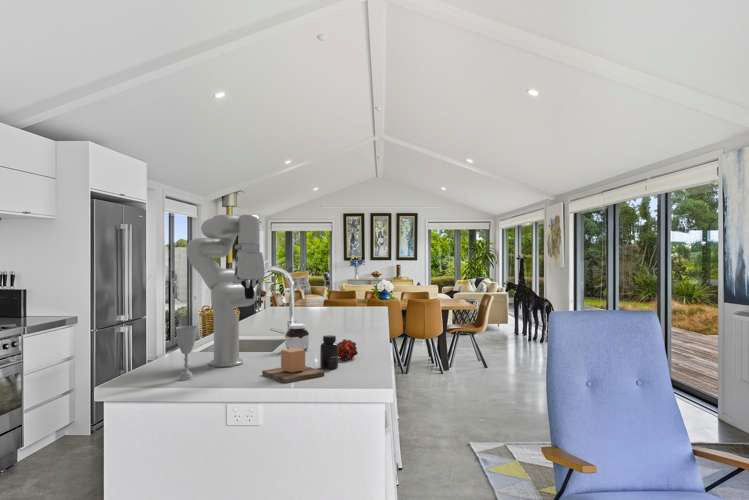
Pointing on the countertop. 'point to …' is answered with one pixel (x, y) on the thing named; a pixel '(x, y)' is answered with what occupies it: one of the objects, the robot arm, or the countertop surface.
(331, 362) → the supplement bottle
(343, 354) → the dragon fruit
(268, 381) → the countertop surface
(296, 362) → the peach colored cube
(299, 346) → the spread jar
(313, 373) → the walnut board
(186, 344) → the chalice
